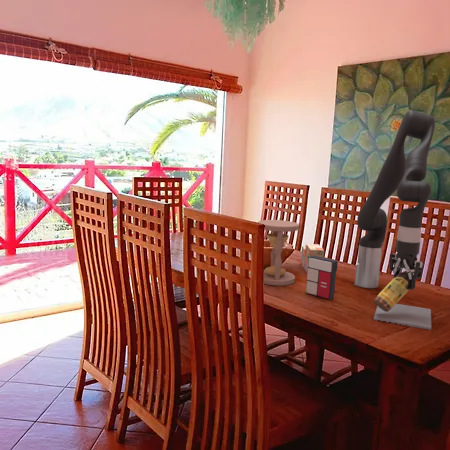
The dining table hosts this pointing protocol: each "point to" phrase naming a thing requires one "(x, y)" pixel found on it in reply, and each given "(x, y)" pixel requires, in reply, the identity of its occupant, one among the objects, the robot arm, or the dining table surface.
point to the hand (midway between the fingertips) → (403, 286)
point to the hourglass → (278, 251)
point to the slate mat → (406, 316)
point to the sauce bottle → (393, 292)
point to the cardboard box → (310, 253)
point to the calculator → (321, 276)
